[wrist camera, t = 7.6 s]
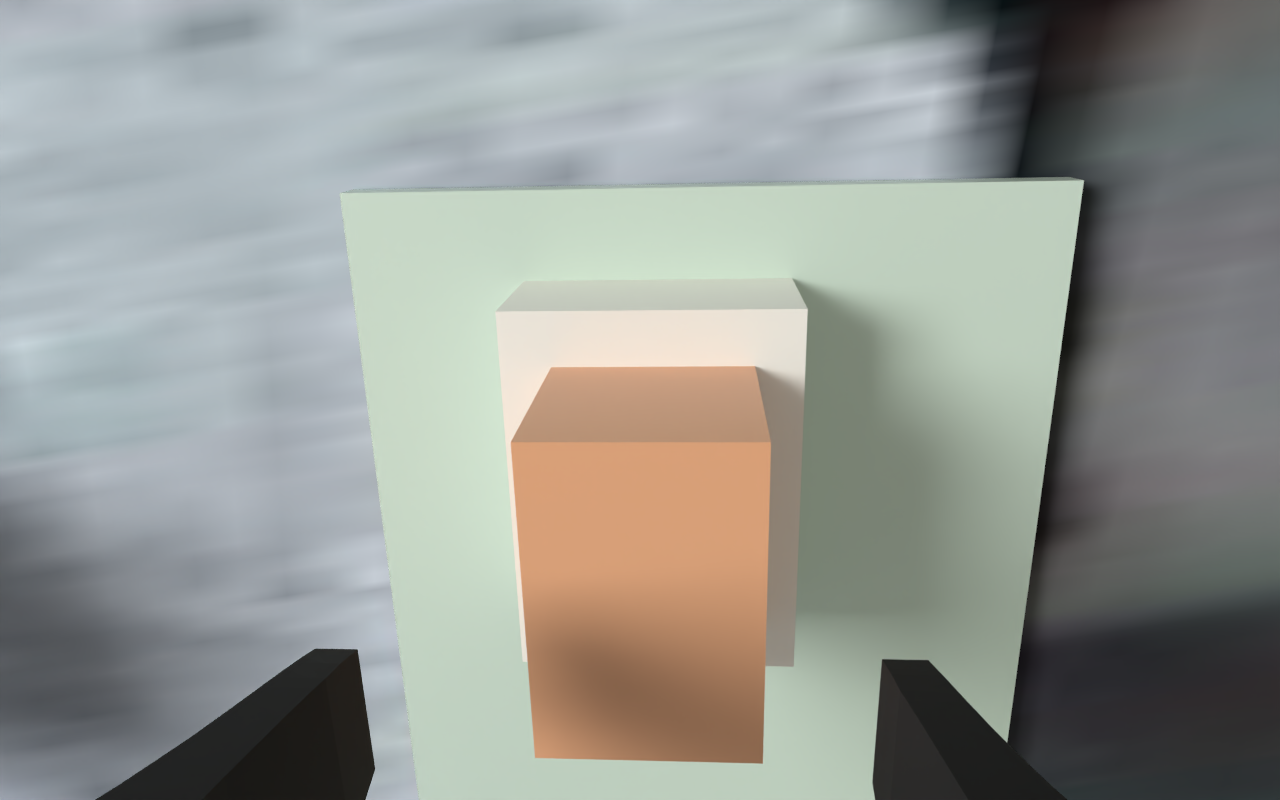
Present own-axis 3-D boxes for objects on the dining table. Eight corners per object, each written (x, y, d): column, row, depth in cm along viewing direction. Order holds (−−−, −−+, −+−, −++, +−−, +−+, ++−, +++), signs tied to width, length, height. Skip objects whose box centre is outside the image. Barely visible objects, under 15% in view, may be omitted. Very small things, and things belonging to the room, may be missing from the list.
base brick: (781, 593, 22) (794, 666, 19) (544, 590, 23) (522, 661, 20) (791, 278, 20) (807, 309, 17) (524, 280, 20) (495, 311, 17)
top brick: (750, 631, 19) (762, 763, 15) (567, 629, 19) (535, 757, 16) (754, 366, 17) (771, 442, 13) (551, 367, 17) (510, 442, 14)
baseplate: (970, 933, 26) (977, 957, 26) (443, 913, 28) (436, 936, 27) (1068, 176, 19) (1084, 180, 19) (353, 189, 20) (339, 193, 20)
